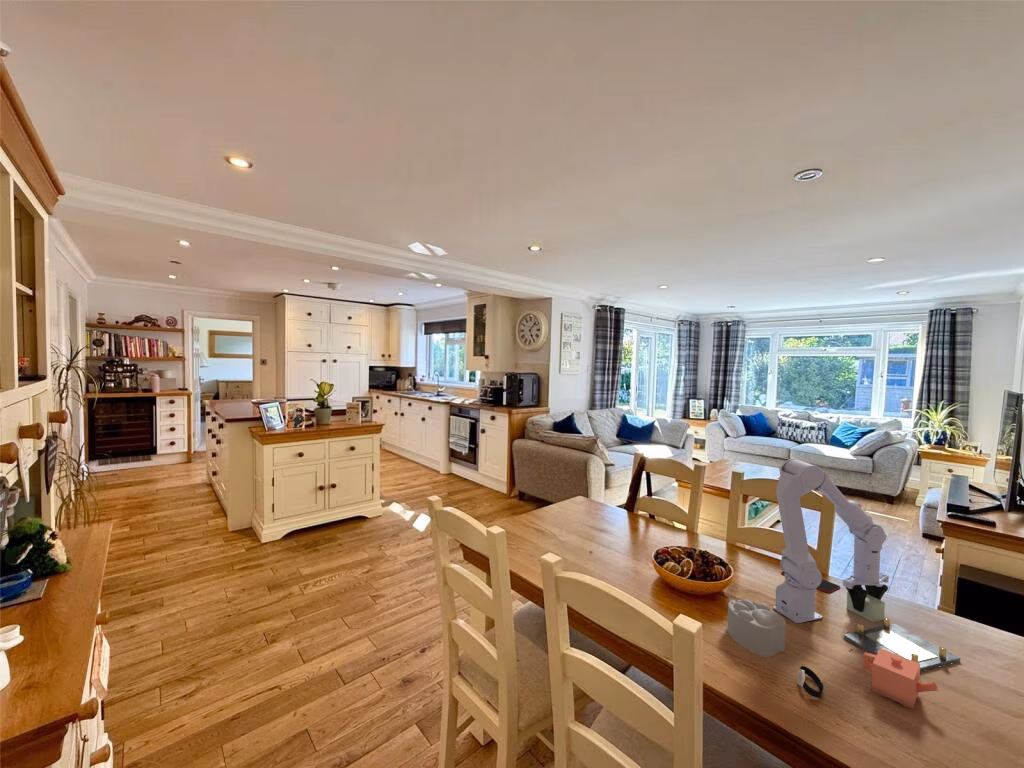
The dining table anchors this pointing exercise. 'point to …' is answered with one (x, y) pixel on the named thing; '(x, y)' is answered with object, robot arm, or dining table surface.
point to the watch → (802, 683)
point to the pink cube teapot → (896, 677)
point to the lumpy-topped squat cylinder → (756, 627)
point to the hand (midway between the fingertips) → (865, 608)
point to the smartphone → (825, 586)
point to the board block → (869, 608)
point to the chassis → (901, 645)
